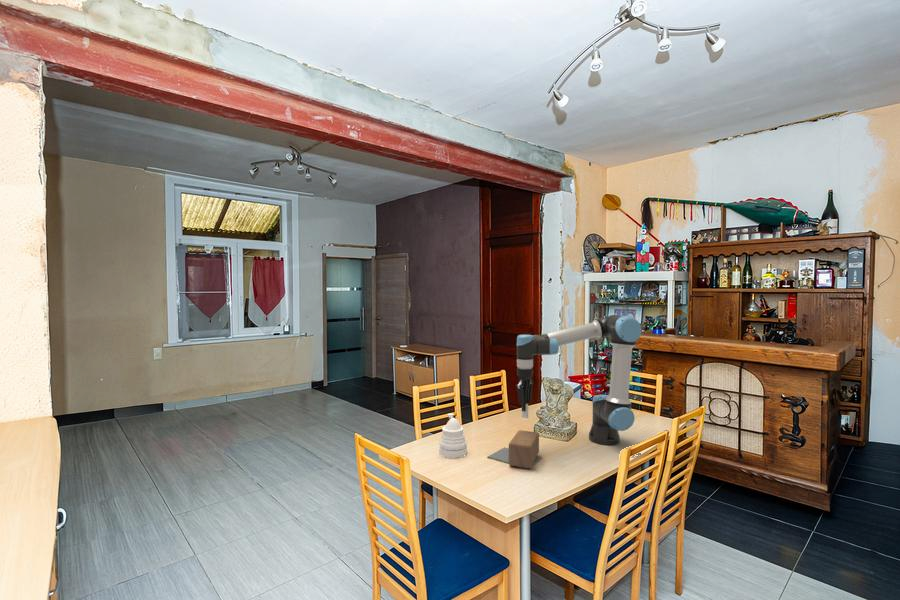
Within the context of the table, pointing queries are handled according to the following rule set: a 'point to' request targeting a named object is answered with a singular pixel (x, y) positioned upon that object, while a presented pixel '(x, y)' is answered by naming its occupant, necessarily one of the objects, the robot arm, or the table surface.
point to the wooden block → (523, 449)
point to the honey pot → (453, 439)
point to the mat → (506, 456)
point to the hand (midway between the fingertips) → (525, 417)
